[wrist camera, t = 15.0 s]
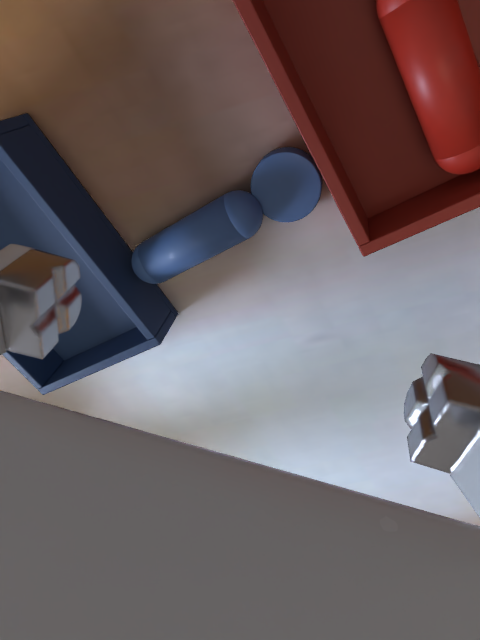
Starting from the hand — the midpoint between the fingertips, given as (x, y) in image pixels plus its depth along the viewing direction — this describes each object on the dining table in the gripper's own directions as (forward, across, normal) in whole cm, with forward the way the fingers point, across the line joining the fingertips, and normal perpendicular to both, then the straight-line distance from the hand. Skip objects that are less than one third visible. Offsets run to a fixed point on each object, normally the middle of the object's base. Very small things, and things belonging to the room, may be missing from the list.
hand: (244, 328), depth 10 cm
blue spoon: (+15, +3, +4) cm, 16 cm away
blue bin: (+15, +14, +10) cm, 23 cm away
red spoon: (+15, -3, -6) cm, 16 cm away
